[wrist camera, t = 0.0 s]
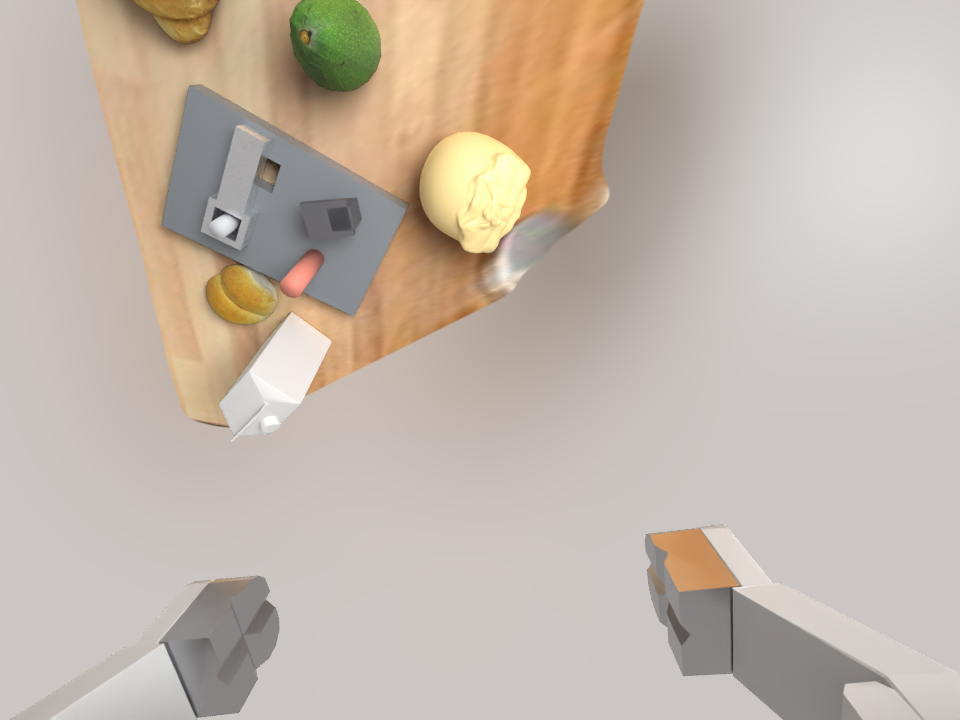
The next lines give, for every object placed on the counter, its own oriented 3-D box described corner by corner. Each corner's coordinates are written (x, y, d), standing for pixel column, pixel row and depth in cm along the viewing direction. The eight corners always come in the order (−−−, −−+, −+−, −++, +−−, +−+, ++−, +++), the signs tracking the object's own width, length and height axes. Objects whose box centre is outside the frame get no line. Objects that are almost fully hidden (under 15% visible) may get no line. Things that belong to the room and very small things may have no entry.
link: (249, 243, 55) (240, 250, 53) (211, 224, 54) (200, 231, 52) (280, 143, 49) (272, 146, 47) (238, 119, 48) (227, 121, 46)
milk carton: (265, 340, 66) (201, 426, 51) (291, 310, 64) (232, 392, 48) (306, 367, 69) (257, 457, 54) (332, 340, 67) (289, 426, 51)
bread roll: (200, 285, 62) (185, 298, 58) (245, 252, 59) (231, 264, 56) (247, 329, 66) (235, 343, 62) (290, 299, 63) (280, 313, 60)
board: (201, 84, 48) (164, 87, 42) (409, 204, 56) (401, 220, 50) (173, 219, 56) (138, 237, 50) (357, 308, 64) (346, 333, 58)
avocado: (327, -23, 43) (284, -49, 33) (399, 30, 46) (379, 22, 36) (299, 60, 47) (253, 59, 37) (367, 105, 49) (341, 116, 40)
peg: (308, 245, 56) (283, 273, 48) (327, 254, 57) (304, 284, 49) (302, 261, 57) (277, 291, 49) (320, 269, 58) (298, 301, 50)
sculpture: (497, 241, 58) (501, 274, 50) (411, 204, 56) (399, 232, 47) (538, 155, 53) (551, 174, 44) (444, 109, 50) (437, 119, 41)
